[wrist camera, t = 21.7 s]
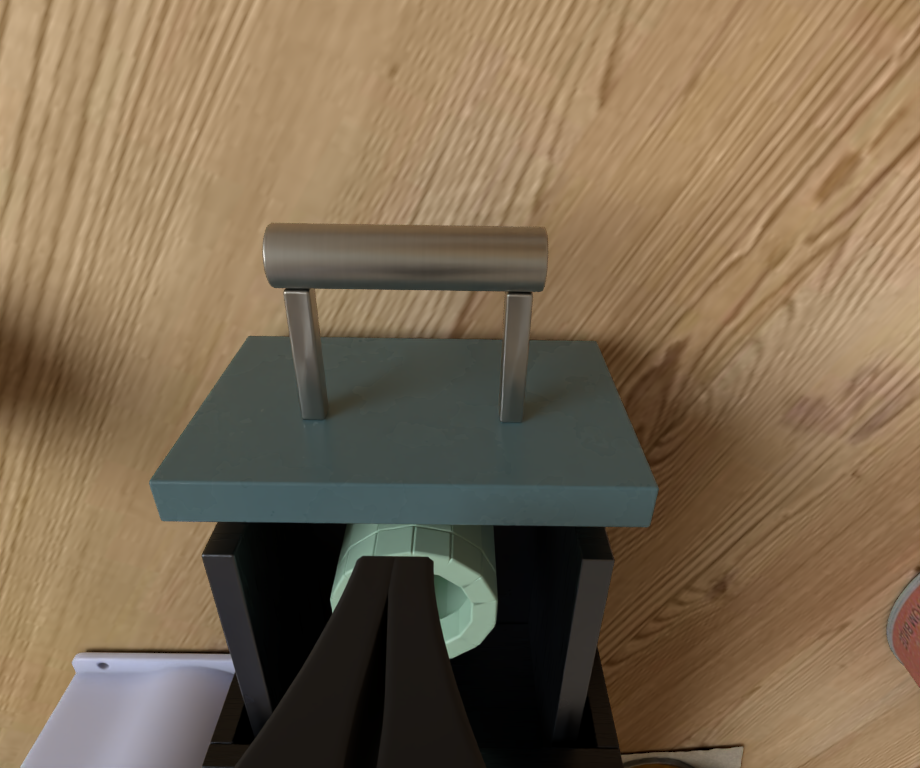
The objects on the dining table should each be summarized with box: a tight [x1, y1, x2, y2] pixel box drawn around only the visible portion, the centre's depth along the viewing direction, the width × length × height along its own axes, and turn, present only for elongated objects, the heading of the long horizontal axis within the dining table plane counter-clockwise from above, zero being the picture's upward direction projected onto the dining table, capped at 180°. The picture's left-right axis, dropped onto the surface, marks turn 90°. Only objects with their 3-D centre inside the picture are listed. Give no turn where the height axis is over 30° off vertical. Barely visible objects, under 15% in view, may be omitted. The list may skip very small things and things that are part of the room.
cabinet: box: [202, 647, 624, 768], centre depth 25 cm, size 14×12×9 cm
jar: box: [330, 524, 498, 659], centre depth 19 cm, size 5×5×5 cm
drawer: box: [149, 223, 659, 748], centre depth 18 cm, size 18×11×7 cm, turn 179°
